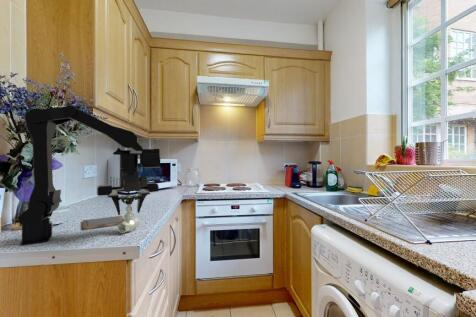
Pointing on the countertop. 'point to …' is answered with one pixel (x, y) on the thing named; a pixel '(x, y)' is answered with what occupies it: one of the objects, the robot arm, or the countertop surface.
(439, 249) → the countertop surface
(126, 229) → the valve
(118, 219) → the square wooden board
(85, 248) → the countertop surface
